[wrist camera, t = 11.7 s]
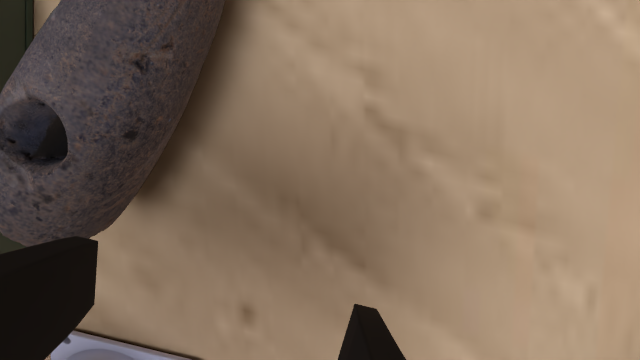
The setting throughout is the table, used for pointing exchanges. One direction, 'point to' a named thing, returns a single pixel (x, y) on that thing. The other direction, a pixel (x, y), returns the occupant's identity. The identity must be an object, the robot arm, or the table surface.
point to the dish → (13, 58)
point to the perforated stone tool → (95, 110)
